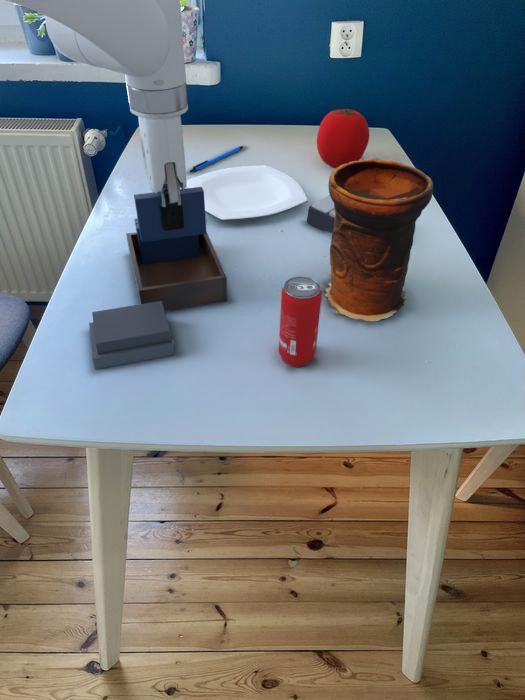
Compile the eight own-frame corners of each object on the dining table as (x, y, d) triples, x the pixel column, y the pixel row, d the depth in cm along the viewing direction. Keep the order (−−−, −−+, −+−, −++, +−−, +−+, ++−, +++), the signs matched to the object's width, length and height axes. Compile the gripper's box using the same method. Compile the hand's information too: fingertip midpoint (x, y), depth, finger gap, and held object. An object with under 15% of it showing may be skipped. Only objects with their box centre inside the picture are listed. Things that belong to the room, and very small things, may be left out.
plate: (321, 211, 109) (322, 202, 107) (215, 235, 101) (215, 226, 100) (270, 168, 124) (270, 159, 123) (174, 186, 116) (173, 177, 115)
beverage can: (276, 345, 78) (279, 276, 70) (311, 343, 78) (318, 274, 70) (280, 369, 74) (284, 299, 66) (317, 368, 75) (325, 298, 67)
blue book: (141, 242, 81) (135, 199, 77) (140, 237, 83) (133, 194, 78) (206, 233, 84) (203, 191, 79) (204, 228, 85) (201, 186, 80)
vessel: (303, 279, 91) (312, 163, 77) (377, 264, 94) (398, 151, 81) (341, 331, 81) (360, 208, 67) (423, 312, 84) (456, 192, 71)
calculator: (374, 234, 95) (307, 202, 102) (369, 254, 98) (305, 223, 105) (406, 212, 101) (341, 184, 108) (401, 232, 104) (338, 203, 111)
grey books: (95, 369, 74) (89, 347, 71) (91, 333, 79) (86, 311, 77) (174, 354, 76) (172, 333, 74) (166, 320, 82) (163, 299, 79)
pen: (188, 173, 122) (188, 168, 121) (242, 147, 133) (241, 143, 132) (191, 173, 121) (191, 169, 121) (244, 148, 133) (244, 144, 132)
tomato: (333, 179, 120) (339, 121, 112) (304, 160, 128) (308, 104, 119) (376, 168, 125) (386, 112, 116) (347, 151, 132) (353, 96, 124)
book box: (142, 315, 83) (138, 290, 80) (130, 256, 95) (126, 233, 92) (227, 301, 86) (226, 277, 83) (204, 246, 98) (203, 223, 95)
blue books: (142, 265, 92) (136, 228, 87) (140, 254, 95) (134, 218, 90) (200, 256, 94) (197, 220, 90) (196, 246, 97) (193, 211, 92)
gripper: (122, 81, 74) (140, 204, 87) (136, 120, 63) (155, 255, 75) (176, 77, 76) (187, 199, 88) (199, 115, 65) (207, 248, 77)
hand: (172, 224), depth 82 cm, fingers closed on blue book, 1 cm apart
